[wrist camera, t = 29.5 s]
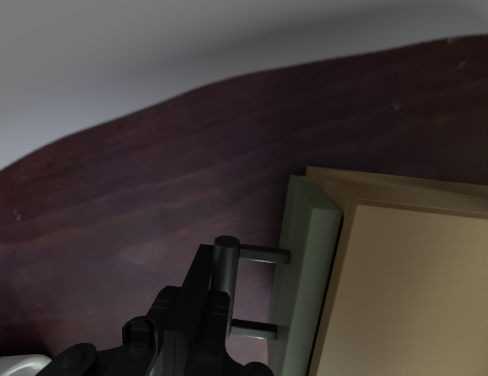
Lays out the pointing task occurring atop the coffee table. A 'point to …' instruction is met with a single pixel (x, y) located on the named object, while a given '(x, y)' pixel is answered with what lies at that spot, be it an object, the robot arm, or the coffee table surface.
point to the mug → (23, 364)
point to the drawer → (288, 276)
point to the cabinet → (405, 278)
